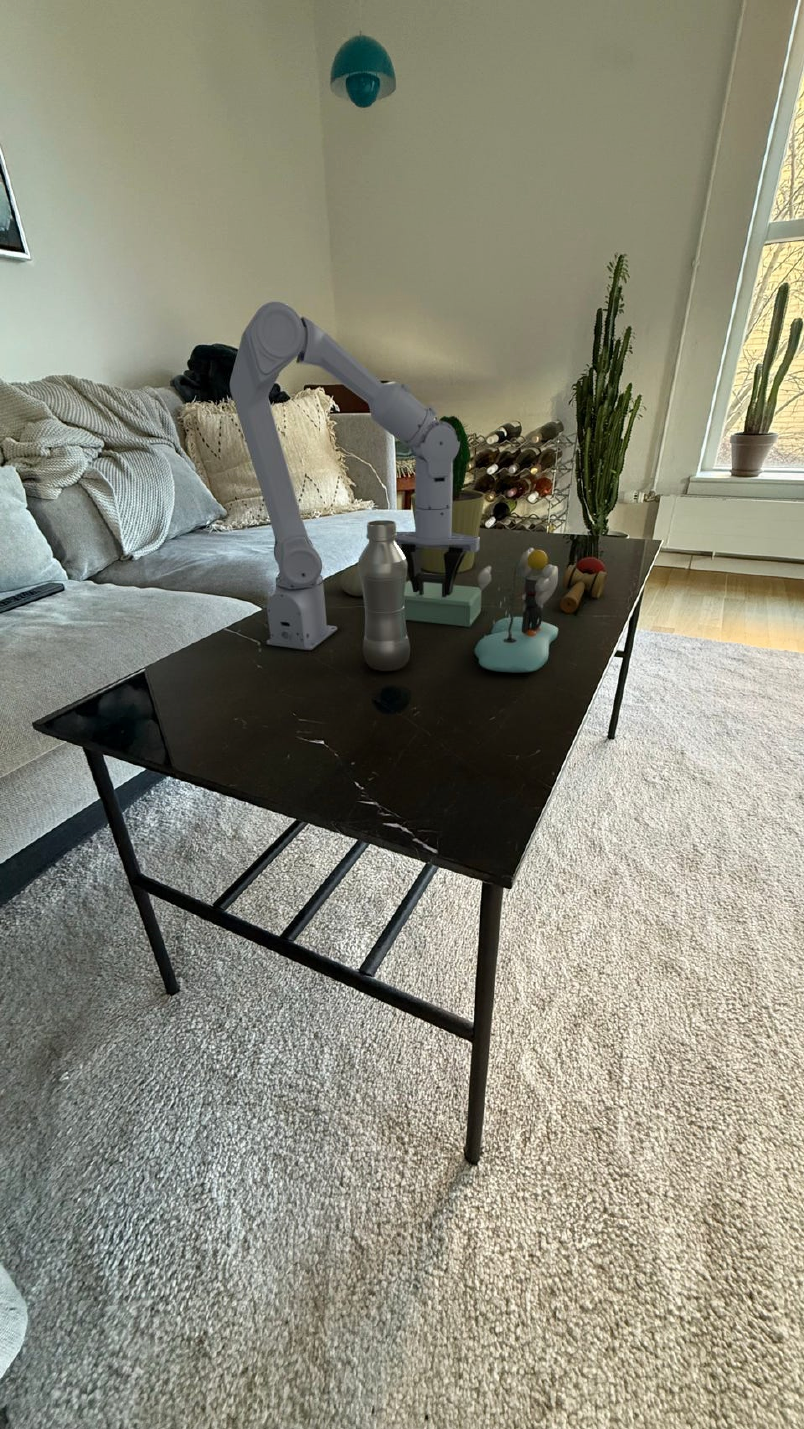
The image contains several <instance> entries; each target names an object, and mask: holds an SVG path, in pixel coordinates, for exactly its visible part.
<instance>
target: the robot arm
mask: <svg viewBox="0 0 804 1429" xmlns="http://www.w3.org/2000/svg"><path fill="white" fill-rule="evenodd" d="M237 349H238V350H237V354H236V357H235V361H234V364H233V369H232V372H231V376H230V379H229V390H230V391H229V392H230V394H231V398H232V400H233V404H234V407H235V410H236V413H237V417H238V419H239V424H240V426H241V430H242V433H243V437H244V440H245V443H246V446H247V449H248V453H249V455H250V460H251V461H252V462H251V464H252V466H253V469H254V472H255V476H256V479H257V483H258V486H259V488H260V491H261V495H262V498H263V502H264V504H265V508H266V511H267V515H268V518H269V521H270V525H271V530H272V532H273V536H274V543H273V544H274V545H273V556H274V560H275V562H276V564H277V566H278V572H279V573H278V574H277V576H276V577H275V590H274V592H273V594H272V595H271V596H270V597H269V599H268V600H267V603H266V614H267V621H268V628H269V629H268V630H269V635H270V636H269V637H270V638H269V639H267V640H266V645H267V646H268V645H269V646H275V647H282V648H289V649H297V650H305V651H311V650H312V651H313V650H314V649H315V648H316V647H317V646H319V645H320V644H321V643H322V642H324V641H325V640H326V639H327V638H328V637H330V636H331V635H332V634H334V633H335V632H336V631H338V627H337V626H336V625H328V624H327V612H326V610H327V609H326V600H325V589H324V588H325V587H324V577H323V575H321V574H322V570H323V560H322V557H321V555H320V553H319V552H318V551H317V550H316V548H315V547H314V545H313V542H312V541H311V539H310V538H309V535H308V532H307V528H306V526H305V523H304V521H303V517H302V514H301V510H300V507H299V503H298V499H297V496H296V493H295V492H296V491H295V489H294V485H293V482H292V478H291V474H290V470H289V467H288V463H287V460H286V456H285V453H284V449H283V446H282V443H281V442H282V441H281V438H280V434H279V432H278V427H277V424H276V421H275V417H274V413H273V410H272V406H271V402H270V399H269V396H270V392H271V391H272V389H273V388H274V385H275V384H276V381H277V380H278V378H279V377H280V374H281V372H282V371H283V370H284V369H285V368H286V367H288V366H289V365H290V364H291V363H292V362H293V361H294V360H295V359H296V360H295V362H296V363H295V364H297V365H303V366H304V365H305V366H309V367H311V366H312V367H317V368H320V369H322V370H323V371H324V372H326V373H327V374H328V375H330V376H331V377H332V378H334V379H335V380H336V381H337V382H339V383H341V385H343V386H345V388H347V389H348V390H349V391H351V392H352V393H353V394H355V395H356V396H358V397H359V398H360V399H362V400H363V401H364V402H366V404H368V407H369V413H370V417H371V418H370V419H372V421H374V422H375V423H376V424H378V425H379V426H380V427H381V428H382V429H383V430H384V431H386V432H388V433H389V434H390V435H392V436H393V437H394V438H395V439H396V440H398V441H399V442H400V443H402V444H403V445H404V446H406V447H409V450H410V453H411V454H412V456H413V457H414V467H415V468H414V472H415V473H414V493H415V522H414V528H415V529H414V531H396V533H397V538H395V543H396V544H397V545H398V546H399V547H400V549H401V551H402V552H403V554H404V556H405V558H406V561H407V564H408V566H407V575H408V576H409V581H411V584H412V588H413V592H418V591H419V581H418V580H417V576H418V573H422V567H421V559H422V550H423V547H425V548H439V549H449V551H447V552H446V553H445V554H444V562H445V573H444V575H446V576H445V595H448V596H449V595H450V594H451V593H452V592H453V586H454V585H455V582H456V579H457V574H458V573H459V572H458V569H459V567H460V565H461V562H462V560H463V558H464V556H465V554H466V552H467V550H468V551H470V552H475V553H477V552H478V551H479V550H480V536H478V537H473V536H466V535H460V534H454V533H451V532H452V486H453V474H452V469H453V459H454V458H455V457H456V455H457V453H458V451H459V447H460V442H458V439H457V435H456V434H455V433H456V432H455V430H454V428H453V427H452V426H451V425H450V424H448V423H446V422H444V421H439V419H438V420H437V418H436V415H437V414H438V413H437V411H436V410H435V409H434V408H433V407H429V408H428V407H427V406H425V405H424V404H423V403H421V402H420V401H419V400H418V398H417V399H416V398H415V397H414V396H413V394H411V392H412V388H411V387H410V386H409V385H408V384H406V383H405V382H404V383H401V384H399V383H398V382H397V381H388V382H383V383H382V382H381V381H380V380H379V379H378V378H377V377H376V376H375V375H374V374H373V373H372V372H370V371H369V370H368V368H366V367H365V366H364V365H363V364H362V363H360V361H358V360H357V359H356V358H355V357H354V356H352V355H351V353H349V352H348V351H347V350H346V349H345V348H344V347H342V345H341V344H339V343H338V342H337V341H336V340H335V339H334V338H333V337H332V336H331V335H330V334H328V333H327V332H325V330H323V329H322V328H321V327H319V325H317V324H316V323H314V322H313V321H312V320H310V319H309V318H307V317H305V316H301V317H300V316H299V314H298V312H297V311H295V309H294V308H292V307H291V306H290V305H289V304H286V303H284V302H282V301H269V302H267V303H265V304H263V305H261V307H259V308H258V309H257V311H256V312H255V314H254V315H253V317H252V318H251V320H250V321H249V323H248V324H247V326H246V327H245V329H244V331H243V332H242V334H241V338H240V342H239V346H238V348H237Z"/></svg>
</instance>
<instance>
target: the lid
mask: <svg viewBox="0 0 804 1429" xmlns="http://www.w3.org/2000/svg"><path fill="white" fill-rule="evenodd" d="M445 576H446V575H445V574H442V573H430V572H429V573H427V572H421V573H418V576H417V580H418V581H419V591H418V592H413V588H412V584H411V580H408V581H406V586H405V600H413V601H423V602H433V603H443V604H453V605H463V606H470V605H471V604H472V603H473V601H474V600H475V599H476V598H477V596H478V595H479V594H480V593H481V594H482V590H480V589H479V586H467V585H456V584H454V586H453V592H452V593H451V594H450V595H449V596H448V595H445Z"/></svg>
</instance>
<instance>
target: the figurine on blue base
mask: <svg viewBox="0 0 804 1429" xmlns="http://www.w3.org/2000/svg"><path fill="white" fill-rule="evenodd" d="M519 558H520V559H519V561H515V562H516V563H515V565H516V566H515V568H513V567H511V571H513V570H514V572H513V579H512V580H513V582H509V581H507V583H508V584H512V585H513V587H511V588H509V585H508V584H507V583H505V586H506V589H507V594H508V596H509V599H510V602H509V601H506V598H503V601H500V603H499V607H500V609H501V608H502V603H503V602H506V603H507V604H510V605H511V610H510V611H511V612H510V613H508V610H507V609H506V611H505V614H504V615H505V618H502V619H499V620H497V621H496V620H493V622H492V623H493V624H492V626H493V627H492V630H491V633H490V634H488V635H487V634H484V637H482V638H481V639H479V641H477V644H476V646H475V648H474V655H475V656H476V657H477V659H478V664H479V666H481V667H482V668H483V669H485V670H489V671H492V672H499V673H515V674H517V673H533V672H536V671H537V670H539V669H540V668H542V667H543V666H544V665H545V664H546V663H547V662H548V659H549V655H550V651H549V650H550V644H551V643H552V642H553V641H555V640H556V638H557V637H558V634H559V628H558V627H557V626H555V625H553V624H550V623H548V622H545V621H543V613H544V610H543V608H544V604H545V603H547V601H548V600H549V599H550V598H551V597H552V595H553V594H554V592H555V590H556V589H557V586H558V580H559V568H558V566H556V565H552V564H548V555H547V553H546V552H545V551H544V550H542V549H535V548H534V547H529V548H528V549H527V550H525V551H524V552H523V553H522V554H521V556H520V557H519ZM517 566H519V567H518V570H517ZM512 569H513V570H512ZM532 570H533V571H540V570H541V574H540V575H538V574H530V575H529V573H530V572H531V571H532ZM491 571H492V567H491V566H490V565H487V566H486V567H484V568H483V569H481V570H480V572H479V573H478V575H477V579H476V581H477V583H478V587H479V589H480V590H484V589H486V587H487V586H488V585H489V584H490V583H491V581H492V575H491ZM518 571H519V574H520V576H521V577H520V576H519V578H525V579H524V580H525V582H524V588H523V587H520V589H522V588H523V590H522V592H521V593H519V595H516V596H515V591H516V589H517V588H519V586H516V579H517V580H518V577H516V573H518ZM500 590H501V589H500V587H498V590H497V591H498V592H499V591H500ZM511 590H512V595H511V593H510V591H511ZM520 595H521V596H520ZM515 599H517V600H521V601H523V602H524V605H523V606H522V611H523V615H522V616H516V615H517V614H518V613H514V612H515V610H516V611H517V608H516V609H515ZM507 615H508V616H507ZM495 621H496V622H495Z"/></svg>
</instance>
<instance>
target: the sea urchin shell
mask: <svg viewBox="0 0 804 1429" xmlns="http://www.w3.org/2000/svg"><path fill="white" fill-rule="evenodd" d="M339 586H340V588H341V589H342V590H343V592H345V593H347V594H348V595H350V596H354V597H363V592H362V587H361V582H360V577H359V573H358V564H357V565H354V566H351V567H349V568H347V569H345V570H344V571H342V574H341V576H340V578H339Z"/></svg>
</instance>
